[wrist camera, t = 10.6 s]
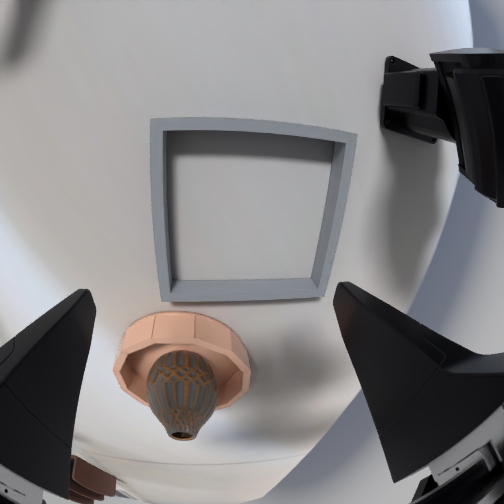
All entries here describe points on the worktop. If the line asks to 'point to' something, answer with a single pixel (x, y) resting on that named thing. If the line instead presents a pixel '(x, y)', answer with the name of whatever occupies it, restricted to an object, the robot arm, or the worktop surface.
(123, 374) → the bowl
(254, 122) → the parts tray
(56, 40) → the worktop surface
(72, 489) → the letter holder
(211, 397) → the vase
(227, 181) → the worktop surface
